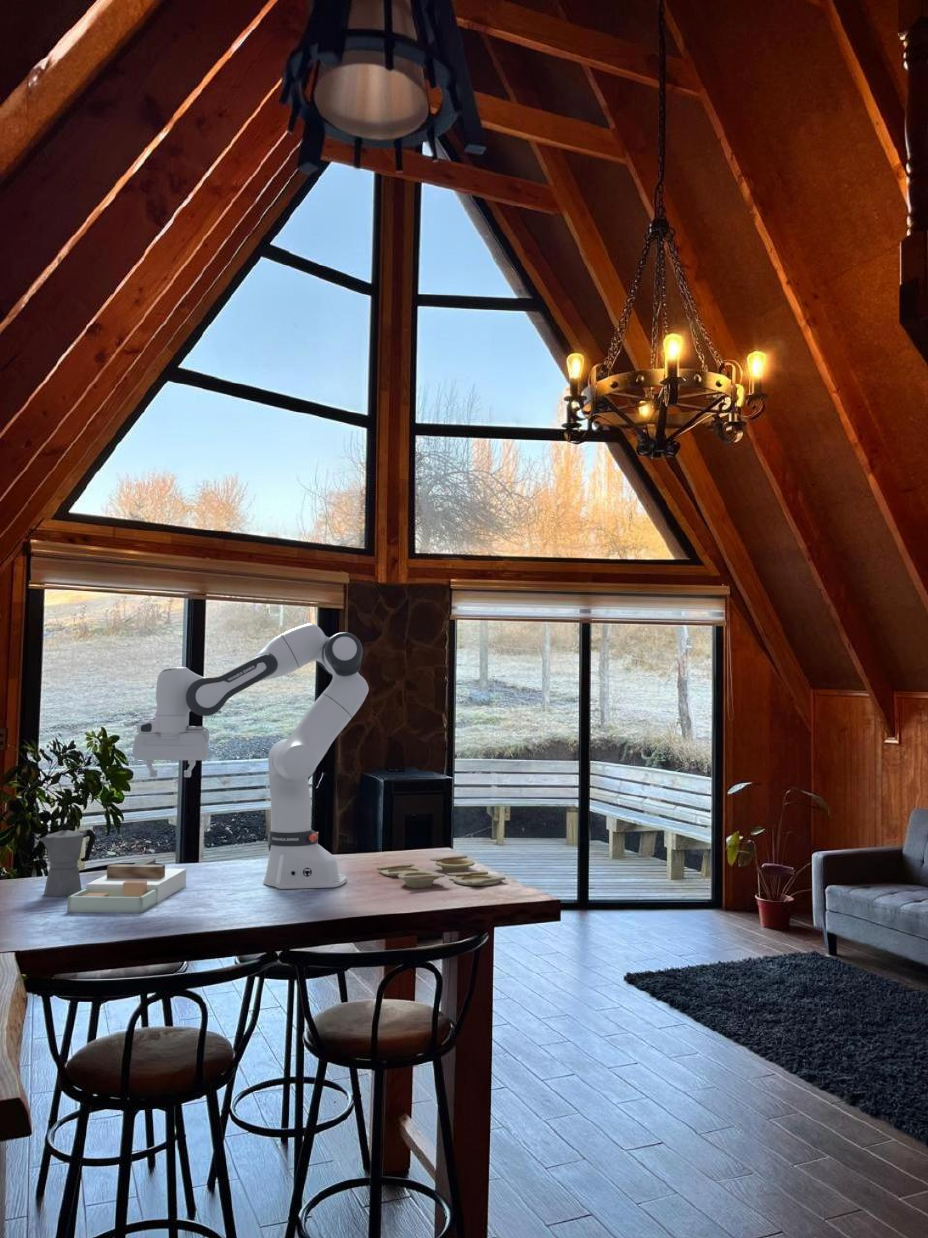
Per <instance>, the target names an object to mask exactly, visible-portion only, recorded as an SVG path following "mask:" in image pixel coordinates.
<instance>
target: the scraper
mask: <svg viewBox="0 0 928 1238" xmlns="http://www.w3.org/2000/svg"><path fill="white" fill-rule="evenodd" d="M156 859H157V858H143V859H141V860H140V861H137V862H136V863H134V864H133V863H132V864H127V863H126V864H121V863H120V864H117V863H116V864H110V865H108V866H107V867H106V875H107V878H116V879H161V878H163V877H165V869H166V865H165V864H157V863H156Z"/></svg>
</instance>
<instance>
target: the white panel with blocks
mask: <svg viewBox="0 0 928 1238" xmlns="http://www.w3.org/2000/svg"><path fill="white" fill-rule="evenodd" d="M126 881H147V889H158V893H157V904H159V903H160V902H162V901H163V900H165V899H167V898H169V897H170V896H171V895H174V894H175V893H176V892H178V891H180V890H181V889H183V888H185V887H186V885H187V868H165V877H163V878H161V879H116V878H107V874H105V875H103V876H101V877H99V878H97V879H95V880H92V881H91V882H88V883H85V884H86V886H85V889H86V888H114V889H123V883H124V882H126ZM184 886H185V887H184Z"/></svg>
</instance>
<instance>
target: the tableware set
mask: <svg viewBox="0 0 928 1238" xmlns="http://www.w3.org/2000/svg"><path fill="white" fill-rule="evenodd" d="M467 858H468V855H466V854H464V855H463V854H462V855H455V856H445V857H438V856H437V857H435V856H434V857H430V858H429V860H430V861H432V862H435V866H438V867H440V868H441V869H442V871H443V873H438V872H432V871H430V870H429V871H428V870H426V869H425V868H422V867H418V866H415V864H414V863H408V862H407V863H400V864H397V865H396V864H394V865H387V866H377V867H376V870H378V871H380V874H381V875H383V876H387V877H392V878H393V877H395V878H399V879H400V880H403V882H404V884H405V885H406V887H408V888H413V889H414V888H415V889H423V888H424V889H425V888H430V887H432V885H433V883H434V881H435V880H438V879H440V878H444V877H446V876H447V877H453V879H452V881H453V882H454V883H456V884H457V885H464V886H470V887H471V886H472V887H473V886H474V887H475V886H477V887H479V886H481V887H482V886H485V887H486V886H491V885H492V886H493V885H497V884H499V883H501V882H502V881H505V880H507V879H506V876H499V875H498V876H497V875H493V874H489V871H487V870H486V871H483V870H482V871H468V869H469V868H470V867H473V866H475V863H476V862H475V861H474V860H472V859H467ZM445 873H446V874H445Z"/></svg>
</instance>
